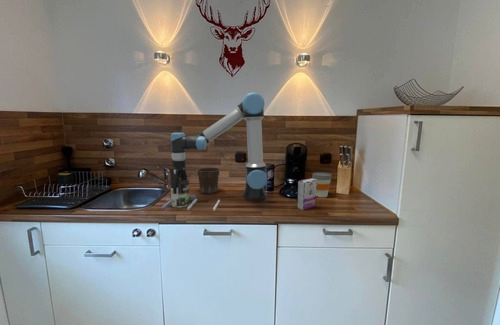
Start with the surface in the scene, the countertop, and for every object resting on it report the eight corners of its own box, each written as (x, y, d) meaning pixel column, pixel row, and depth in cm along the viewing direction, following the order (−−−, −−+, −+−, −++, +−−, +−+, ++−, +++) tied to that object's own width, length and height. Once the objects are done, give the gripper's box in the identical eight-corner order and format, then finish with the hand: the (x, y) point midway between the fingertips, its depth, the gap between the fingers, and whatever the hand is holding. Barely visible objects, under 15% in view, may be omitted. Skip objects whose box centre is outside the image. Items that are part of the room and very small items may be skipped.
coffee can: (192, 202, 144) (191, 180, 142) (184, 208, 134) (183, 184, 132) (176, 201, 146) (176, 179, 144) (167, 207, 136) (166, 183, 134)
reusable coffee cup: (327, 199, 153) (329, 176, 151) (308, 196, 160) (309, 174, 157) (332, 194, 164) (333, 173, 161) (314, 191, 170) (315, 171, 168)
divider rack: (220, 200, 149) (220, 196, 148) (214, 210, 131) (214, 206, 130) (173, 199, 150) (173, 195, 150) (161, 209, 133) (161, 204, 132)
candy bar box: (309, 204, 143) (310, 178, 141) (316, 206, 139) (317, 179, 137) (296, 208, 137) (297, 180, 134) (303, 210, 133) (304, 182, 130)
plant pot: (194, 190, 171) (193, 168, 169) (215, 187, 179) (215, 166, 176) (200, 196, 157) (200, 172, 155) (223, 193, 165) (223, 170, 162)
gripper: (179, 156, 148) (181, 189, 152) (163, 163, 124) (165, 202, 127) (191, 156, 148) (192, 189, 151) (177, 163, 123) (178, 202, 127)
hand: (180, 195), depth 139 cm, fingers open, 13 cm apart
